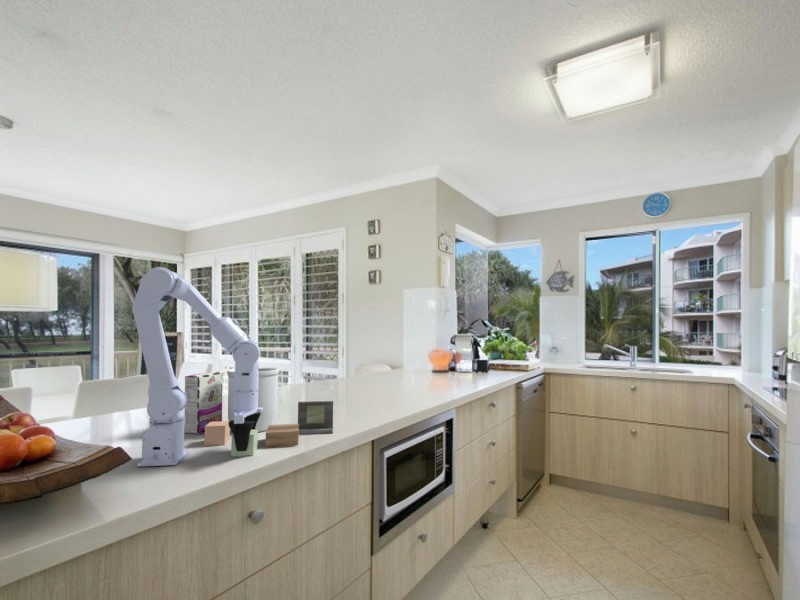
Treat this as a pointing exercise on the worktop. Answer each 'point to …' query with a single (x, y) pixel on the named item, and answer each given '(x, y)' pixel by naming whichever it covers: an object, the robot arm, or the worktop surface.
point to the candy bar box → (202, 400)
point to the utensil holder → (260, 396)
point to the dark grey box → (315, 417)
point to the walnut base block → (282, 435)
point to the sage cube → (251, 444)
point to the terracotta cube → (217, 433)
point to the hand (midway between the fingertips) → (244, 446)
